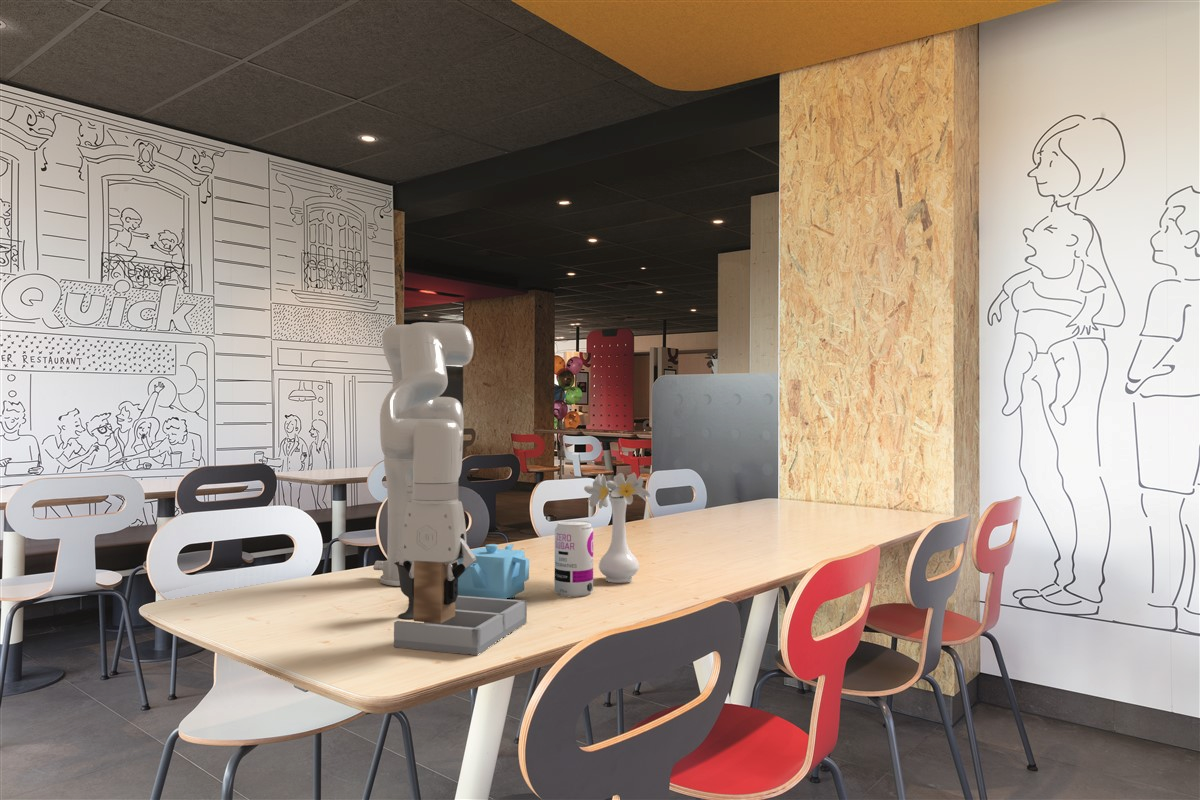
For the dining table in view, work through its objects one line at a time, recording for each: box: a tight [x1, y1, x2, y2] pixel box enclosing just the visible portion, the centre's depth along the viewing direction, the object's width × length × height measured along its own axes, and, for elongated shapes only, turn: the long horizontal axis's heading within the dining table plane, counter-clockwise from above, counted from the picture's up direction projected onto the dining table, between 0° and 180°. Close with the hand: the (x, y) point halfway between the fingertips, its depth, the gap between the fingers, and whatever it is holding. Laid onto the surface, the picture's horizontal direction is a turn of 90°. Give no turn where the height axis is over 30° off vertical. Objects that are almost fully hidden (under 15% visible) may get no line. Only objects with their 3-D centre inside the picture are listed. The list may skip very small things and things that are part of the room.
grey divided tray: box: [393, 596, 528, 656], centre depth 131 cm, size 15×20×4 cm
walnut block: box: [413, 561, 455, 624], centre depth 128 cm, size 5×5×11 cm
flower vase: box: [583, 472, 651, 584], centre depth 175 cm, size 13×18×25 cm
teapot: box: [458, 543, 530, 599], centre depth 157 cm, size 16×18×11 cm
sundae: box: [394, 562, 414, 620], centre depth 143 cm, size 7×7×15 cm
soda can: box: [554, 520, 594, 598], centre depth 162 cm, size 8×8×15 cm
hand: (435, 600), depth 128 cm, fingers closed on walnut block, 5 cm apart
